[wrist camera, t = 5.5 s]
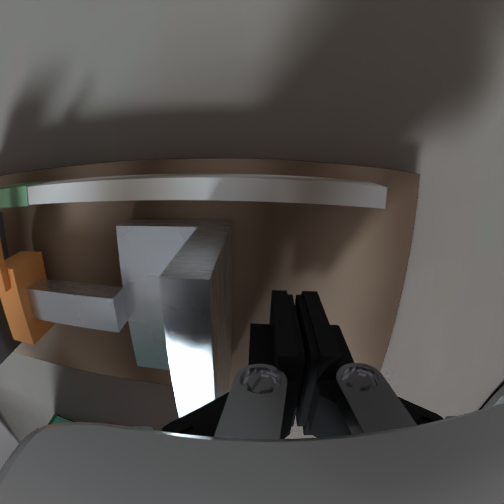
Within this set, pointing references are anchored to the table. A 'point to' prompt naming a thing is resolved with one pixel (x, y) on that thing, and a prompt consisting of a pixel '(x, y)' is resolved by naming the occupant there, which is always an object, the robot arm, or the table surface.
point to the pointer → (22, 294)
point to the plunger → (161, 302)
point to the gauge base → (243, 244)
